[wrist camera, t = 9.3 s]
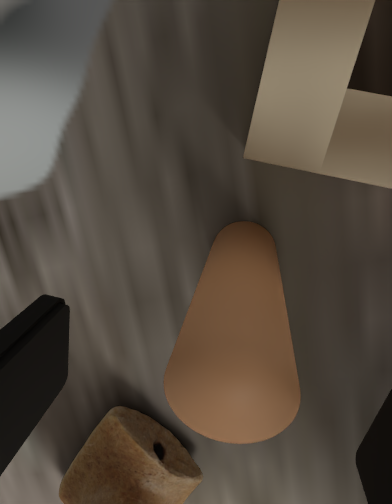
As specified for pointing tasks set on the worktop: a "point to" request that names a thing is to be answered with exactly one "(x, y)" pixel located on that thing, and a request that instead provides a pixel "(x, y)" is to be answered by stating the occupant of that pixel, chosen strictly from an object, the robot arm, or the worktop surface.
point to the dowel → (236, 344)
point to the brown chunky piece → (130, 464)
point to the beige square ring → (320, 96)
